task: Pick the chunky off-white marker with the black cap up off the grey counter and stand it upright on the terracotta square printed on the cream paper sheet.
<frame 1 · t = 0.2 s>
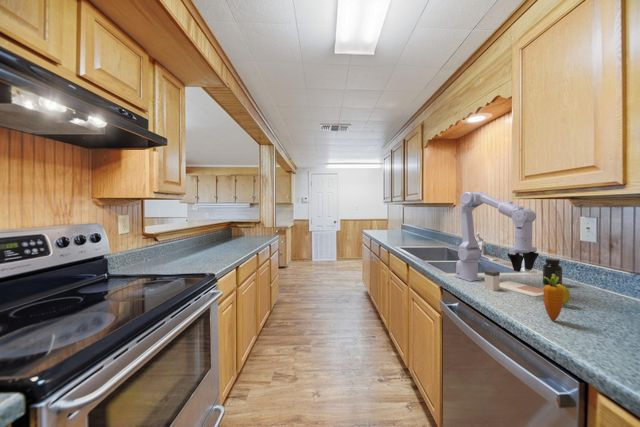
hand: (522, 270, 111), 10 cm above the worktop, tool pointing down, fingers open, 7 cm apart
paper sheet: (521, 288, 118), on the worktop
supplement bottle: (552, 285, 124), on the worktop
carrot: (552, 321, 86), on the worktop
lemon: (559, 305, 99), on the worktop
marker: (491, 289, 119), on the worktop
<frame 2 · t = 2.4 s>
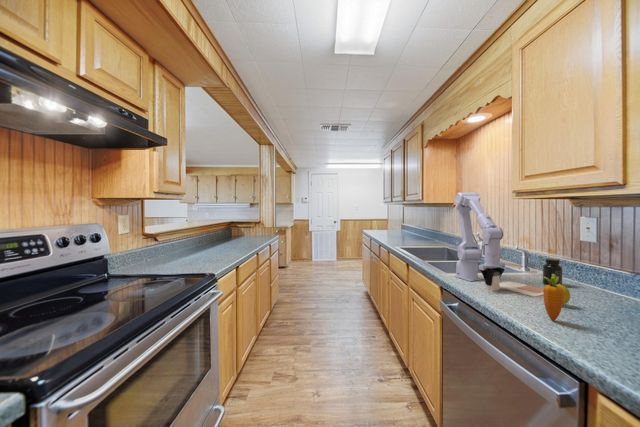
hand: (492, 284, 118), 2 cm above the worktop, tool pointing down, fingers closed on marker, 4 cm apart
marker: (492, 289, 119), on the worktop, touching gripper
everything else where it was.
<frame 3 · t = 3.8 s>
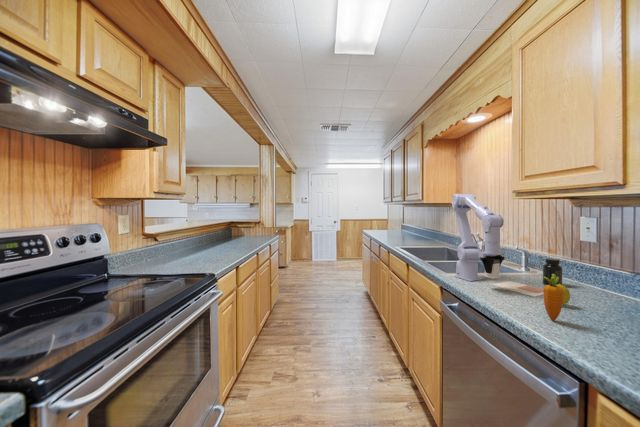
hand: (492, 272, 118), 7 cm above the worktop, tool pointing down, fingers closed on marker, 4 cm apart
marker: (492, 277, 118), point 5 cm above the worktop, touching gripper
everything else where it was.
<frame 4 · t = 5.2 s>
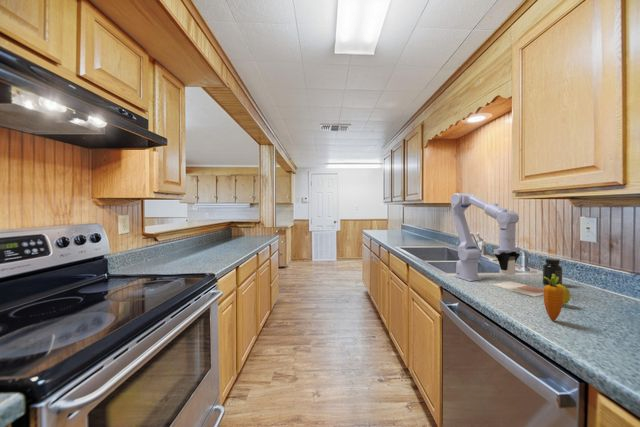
hand: (507, 269, 117), 9 cm above the worktop, tool pointing down, fingers closed on marker, 4 cm apart
marker: (507, 274, 117), point 7 cm above the worktop, touching gripper
everything else where it was.
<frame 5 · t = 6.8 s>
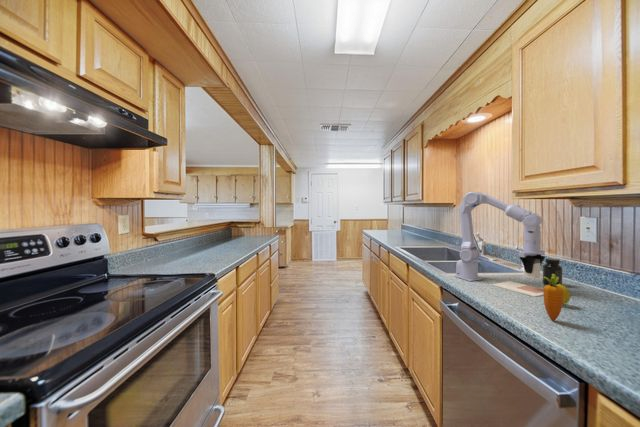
hand: (531, 272, 116), 8 cm above the worktop, tool pointing down, fingers closed on marker, 4 cm apart
marker: (532, 277, 116), point 6 cm above the worktop, touching gripper
everything else where it was.
when the fingers open (4 cm above the worktop, at t = 8.0 s): marker drops 1 cm, resting on paper sheet.
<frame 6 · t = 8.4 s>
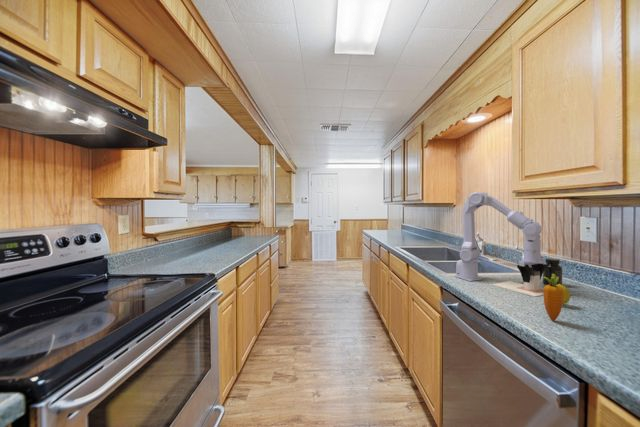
hand: (531, 281, 116), 4 cm above the worktop, tool pointing down, fingers open, 7 cm apart
marker: (531, 289, 116), resting on paper sheet
everything else where it was.
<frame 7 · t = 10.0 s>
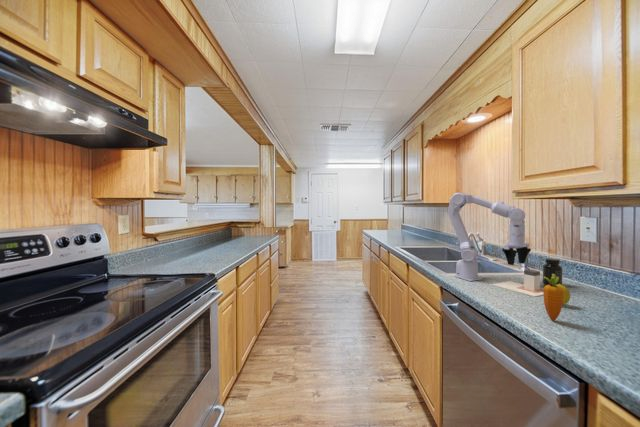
hand: (516, 263, 123), 10 cm above the worktop, tool pointing down, fingers open, 7 cm apart
nothing on the worktop moved.
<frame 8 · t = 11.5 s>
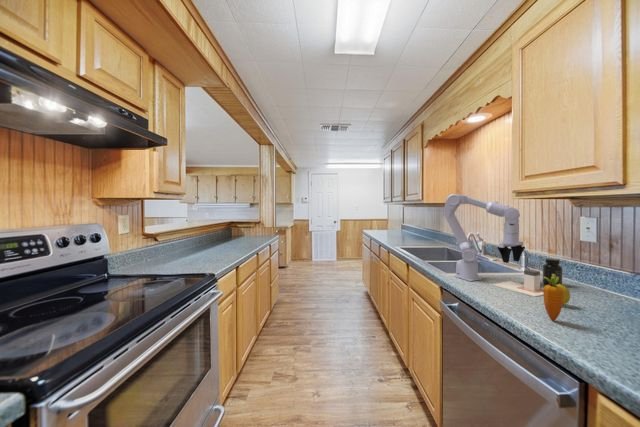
hand: (511, 261, 126), 10 cm above the worktop, tool pointing down, fingers open, 7 cm apart
nothing on the worktop moved.
at the end: marker 0.0 cm from the target spot, point 0.5 cm above the worktop; marker tilted 0°; the gripper is holding nothing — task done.
